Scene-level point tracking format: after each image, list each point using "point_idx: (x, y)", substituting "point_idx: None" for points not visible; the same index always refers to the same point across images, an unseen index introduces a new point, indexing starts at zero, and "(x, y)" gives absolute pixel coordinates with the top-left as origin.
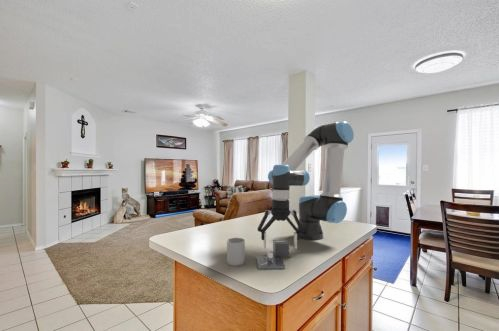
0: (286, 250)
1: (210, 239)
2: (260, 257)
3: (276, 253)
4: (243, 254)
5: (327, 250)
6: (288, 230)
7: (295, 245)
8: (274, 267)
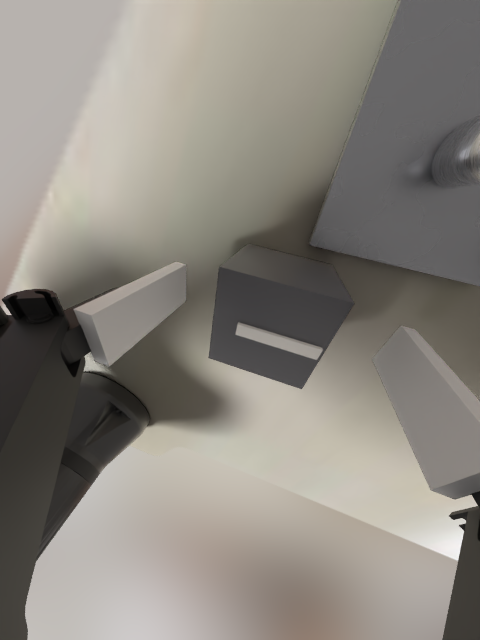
0: (254, 257)
1: None
2: (474, 263)
3: (327, 269)
4: None
5: (58, 277)
6: (163, 449)
7: (172, 269)
8: None
